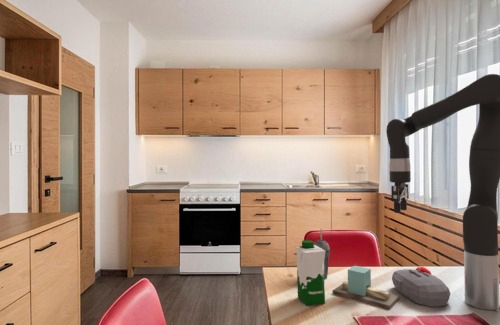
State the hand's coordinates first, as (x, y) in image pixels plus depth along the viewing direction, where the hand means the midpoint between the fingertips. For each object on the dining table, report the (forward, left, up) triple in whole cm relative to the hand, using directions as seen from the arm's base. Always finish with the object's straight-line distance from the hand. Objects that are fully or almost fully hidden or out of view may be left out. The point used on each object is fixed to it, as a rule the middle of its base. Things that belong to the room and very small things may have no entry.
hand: (400, 211), depth 127 cm
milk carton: (+19, +37, -28) cm, 50 cm away
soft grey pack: (-9, +9, -28) cm, 31 cm away
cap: (-6, -6, -28) cm, 30 cm away
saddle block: (+8, +22, -27) cm, 35 cm away
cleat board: (+6, +22, -28) cm, 36 cm away
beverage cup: (+27, +15, -28) cm, 42 cm away
